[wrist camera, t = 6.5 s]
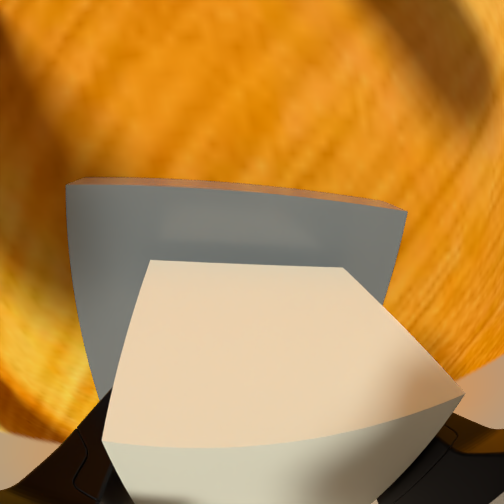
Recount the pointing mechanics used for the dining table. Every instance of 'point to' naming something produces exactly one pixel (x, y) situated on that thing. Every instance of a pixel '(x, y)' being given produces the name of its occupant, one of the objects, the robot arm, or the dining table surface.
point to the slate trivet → (208, 242)
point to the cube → (268, 389)
